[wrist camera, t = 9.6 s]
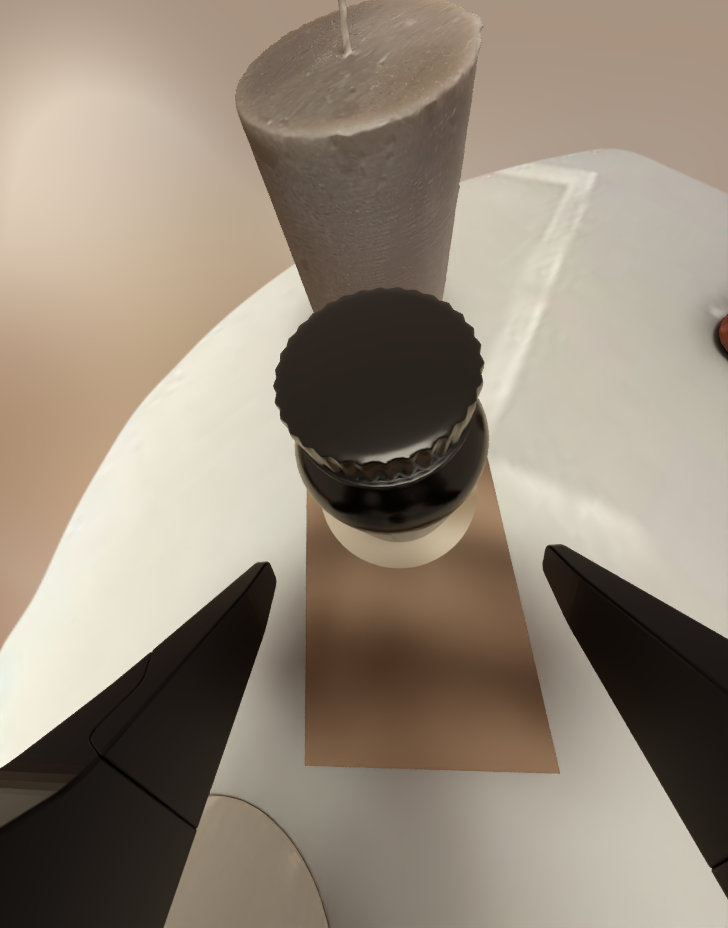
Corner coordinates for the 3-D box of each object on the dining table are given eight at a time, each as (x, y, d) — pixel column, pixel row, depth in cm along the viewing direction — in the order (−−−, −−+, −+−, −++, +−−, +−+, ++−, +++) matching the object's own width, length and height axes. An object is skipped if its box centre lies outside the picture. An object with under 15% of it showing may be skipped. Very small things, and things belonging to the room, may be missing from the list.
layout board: (546, 754, 13) (561, 776, 12) (312, 749, 15) (303, 767, 13) (469, 402, 20) (473, 392, 18) (312, 423, 21) (306, 415, 20)
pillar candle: (317, 310, 25) (201, -2, 11) (418, 275, 24) (434, -102, 10) (340, 395, 22) (217, 112, 8) (457, 358, 21) (558, -25, 7)
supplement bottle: (403, 420, 19) (399, 215, 7) (476, 496, 16) (634, 365, 5) (324, 481, 18) (188, 360, 7) (387, 568, 16) (340, 604, 4)
